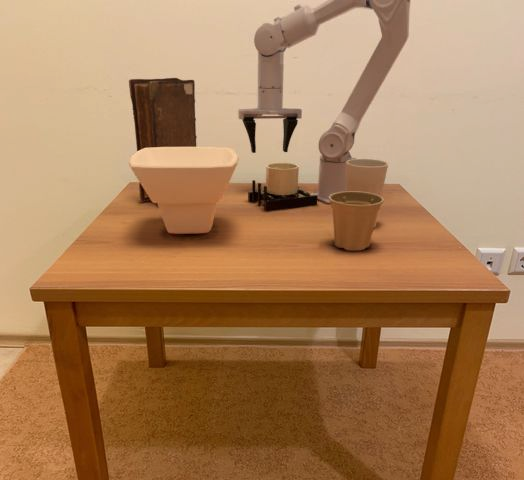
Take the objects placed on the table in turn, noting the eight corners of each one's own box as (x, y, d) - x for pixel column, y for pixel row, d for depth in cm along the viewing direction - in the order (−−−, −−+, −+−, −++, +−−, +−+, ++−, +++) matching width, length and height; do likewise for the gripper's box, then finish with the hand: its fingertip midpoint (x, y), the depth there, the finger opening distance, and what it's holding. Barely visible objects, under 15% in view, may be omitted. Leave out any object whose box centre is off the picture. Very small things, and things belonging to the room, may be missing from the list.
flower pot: (345, 257, 87) (350, 207, 83) (315, 241, 94) (318, 194, 90) (388, 249, 91) (395, 200, 87) (356, 234, 98) (361, 188, 94)
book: (187, 188, 128) (180, 76, 116) (209, 192, 125) (204, 77, 112) (137, 202, 117) (123, 79, 104) (159, 207, 113) (148, 80, 100)
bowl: (241, 246, 92) (240, 165, 85) (132, 248, 91) (121, 166, 83) (238, 216, 108) (237, 146, 101) (145, 217, 107) (137, 146, 99)
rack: (296, 195, 124) (297, 174, 121) (317, 205, 116) (318, 182, 114) (247, 201, 119) (247, 178, 116) (265, 211, 111) (266, 188, 109)
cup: (387, 224, 104) (396, 162, 98) (366, 233, 99) (373, 168, 93) (355, 216, 109) (361, 157, 103) (332, 224, 104) (337, 162, 98)
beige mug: (303, 193, 115) (304, 167, 112) (274, 196, 112) (274, 170, 109) (281, 182, 123) (282, 158, 120) (254, 185, 121) (254, 161, 118)
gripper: (240, 89, 110) (241, 155, 117) (306, 89, 112) (303, 154, 119) (236, 86, 116) (237, 150, 123) (298, 86, 118) (296, 148, 125)
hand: (269, 151), depth 121 cm, fingers open, 7 cm apart
